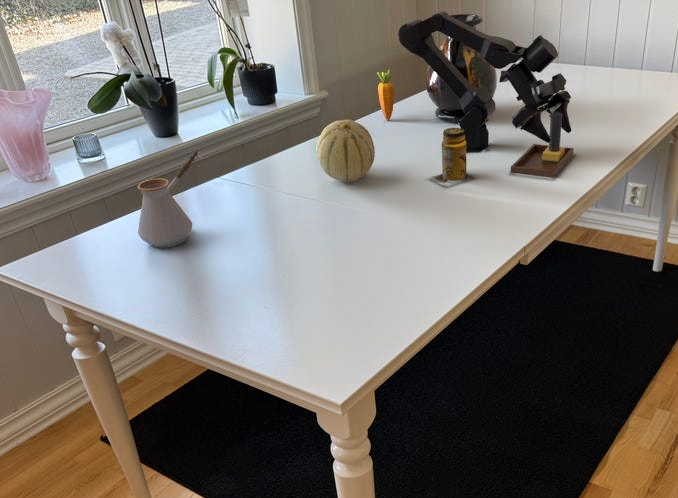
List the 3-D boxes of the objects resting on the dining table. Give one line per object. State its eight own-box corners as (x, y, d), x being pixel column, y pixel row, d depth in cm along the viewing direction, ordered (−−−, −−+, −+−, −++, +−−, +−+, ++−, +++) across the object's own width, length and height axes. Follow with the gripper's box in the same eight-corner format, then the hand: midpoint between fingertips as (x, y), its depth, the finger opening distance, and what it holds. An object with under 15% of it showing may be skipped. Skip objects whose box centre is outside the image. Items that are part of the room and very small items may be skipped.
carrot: (377, 122, 215) (373, 71, 206) (384, 117, 218) (380, 67, 210) (392, 123, 213) (388, 72, 204) (398, 118, 217) (395, 68, 208)
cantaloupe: (352, 164, 185) (346, 107, 176) (389, 177, 176) (385, 117, 168) (308, 180, 177) (299, 121, 168) (344, 194, 168) (337, 133, 159)
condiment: (473, 179, 173) (473, 130, 166) (446, 187, 169) (444, 138, 162) (456, 171, 178) (455, 123, 171) (429, 179, 174) (427, 131, 167)
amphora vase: (487, 129, 204) (488, 25, 188) (418, 125, 210) (413, 24, 194) (503, 108, 221) (505, 11, 204) (438, 105, 227) (436, 10, 210)
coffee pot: (171, 255, 146) (152, 187, 137) (130, 247, 150) (109, 180, 141) (233, 215, 161) (219, 152, 152) (194, 209, 165) (178, 147, 157)
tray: (552, 180, 169) (553, 171, 168) (510, 174, 174) (510, 166, 172) (573, 156, 182) (574, 148, 181) (533, 151, 187) (533, 143, 185)
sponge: (558, 163, 177) (562, 117, 170) (542, 162, 178) (544, 116, 171) (564, 156, 181) (568, 110, 174) (548, 154, 182) (550, 109, 176)
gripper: (523, 72, 163) (559, 127, 163) (567, 56, 174) (601, 108, 174) (496, 101, 172) (530, 154, 172) (540, 85, 183) (572, 134, 183)
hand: (559, 136), depth 175 cm, fingers open, 9 cm apart
